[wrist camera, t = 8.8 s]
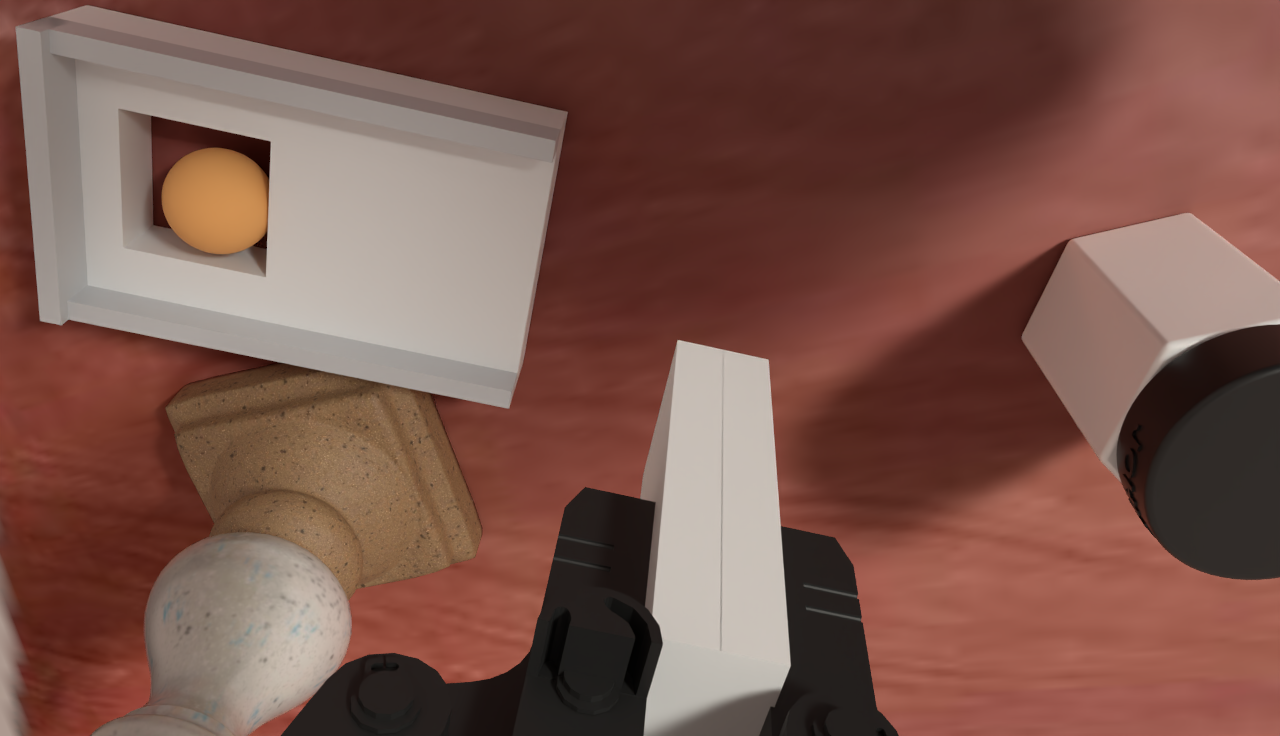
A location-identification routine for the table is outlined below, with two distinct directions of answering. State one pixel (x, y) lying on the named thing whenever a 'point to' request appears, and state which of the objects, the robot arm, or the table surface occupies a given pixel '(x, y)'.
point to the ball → (217, 200)
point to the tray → (290, 204)
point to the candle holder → (291, 539)
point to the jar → (1174, 383)
